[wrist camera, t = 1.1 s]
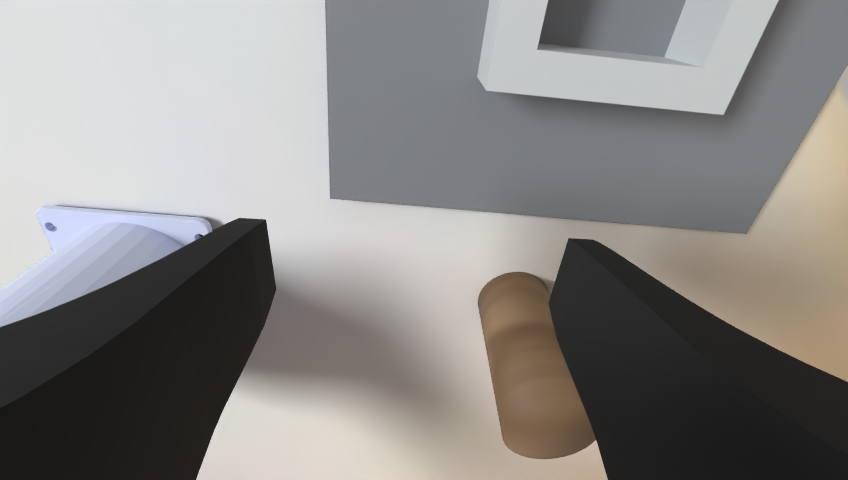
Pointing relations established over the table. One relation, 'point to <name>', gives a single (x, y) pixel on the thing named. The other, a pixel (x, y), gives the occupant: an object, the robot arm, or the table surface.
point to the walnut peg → (530, 370)
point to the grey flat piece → (577, 104)
